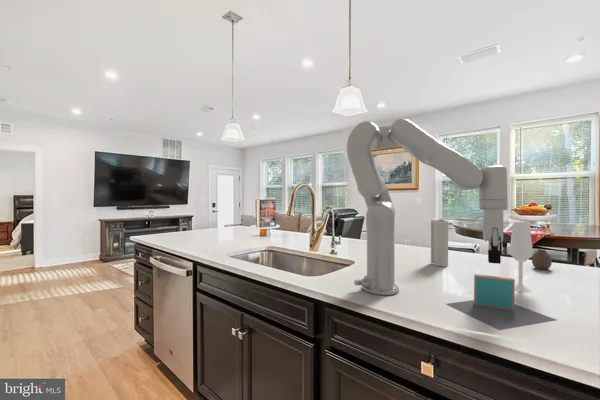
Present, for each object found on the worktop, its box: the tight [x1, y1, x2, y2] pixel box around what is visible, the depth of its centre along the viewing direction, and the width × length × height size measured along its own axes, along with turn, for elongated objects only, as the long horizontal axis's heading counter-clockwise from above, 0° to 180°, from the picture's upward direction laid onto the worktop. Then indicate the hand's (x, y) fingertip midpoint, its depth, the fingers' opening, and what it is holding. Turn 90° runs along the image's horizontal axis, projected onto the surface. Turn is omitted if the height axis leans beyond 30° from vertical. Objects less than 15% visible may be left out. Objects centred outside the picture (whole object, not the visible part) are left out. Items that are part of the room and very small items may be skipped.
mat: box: [445, 299, 557, 331], centre depth 86 cm, size 20×18×1 cm
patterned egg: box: [531, 248, 552, 271], centre depth 134 cm, size 7×7×9 cm
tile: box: [473, 273, 516, 311], centre depth 89 cm, size 10×2×9 cm, turn 61°
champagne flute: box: [508, 220, 534, 293], centre depth 106 cm, size 7×7×24 cm
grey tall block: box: [430, 219, 449, 267], centre depth 141 cm, size 7×6×21 cm
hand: (494, 262), depth 95 cm, fingers closed
